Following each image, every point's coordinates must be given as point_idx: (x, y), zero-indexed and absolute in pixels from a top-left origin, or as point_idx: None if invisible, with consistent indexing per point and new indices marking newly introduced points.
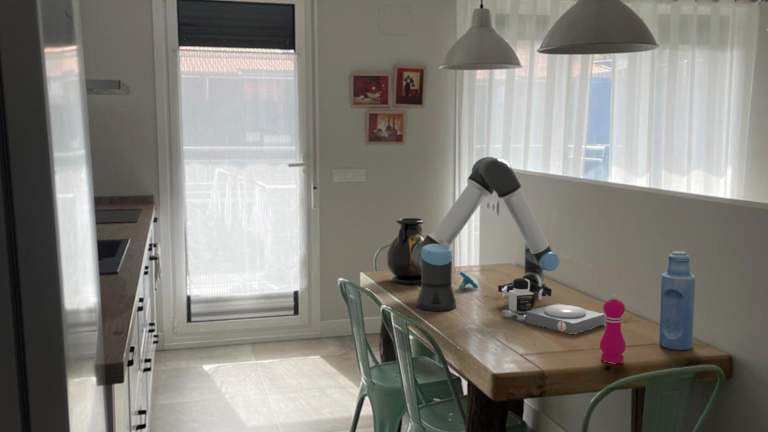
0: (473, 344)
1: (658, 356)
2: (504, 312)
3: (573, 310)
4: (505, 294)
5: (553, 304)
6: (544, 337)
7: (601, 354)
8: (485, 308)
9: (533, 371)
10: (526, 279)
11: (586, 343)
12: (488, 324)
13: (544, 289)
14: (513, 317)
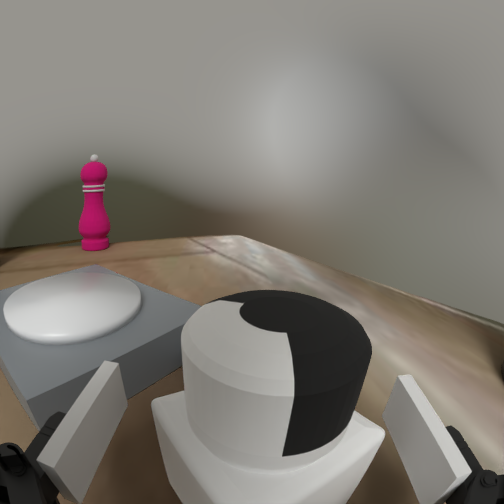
0: (294, 263)
1: (30, 254)
2: None
3: (46, 294)
4: (403, 456)
5: (57, 385)
6: (167, 284)
7: (107, 240)
8: None
9: (198, 236)
10: (220, 315)
11: None
12: None
13: (26, 458)
14: None
